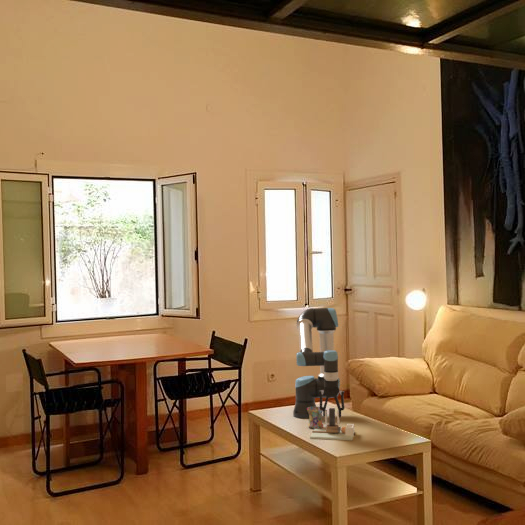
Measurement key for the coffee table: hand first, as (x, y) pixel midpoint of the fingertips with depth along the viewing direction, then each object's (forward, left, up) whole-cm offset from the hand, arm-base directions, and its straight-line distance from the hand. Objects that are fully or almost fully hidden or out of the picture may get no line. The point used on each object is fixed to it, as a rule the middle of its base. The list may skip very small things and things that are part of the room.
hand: (332, 422), depth 330 cm
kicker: (0, +1, -4) cm, 5 cm away
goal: (0, +9, -6) cm, 11 cm away
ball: (0, +6, -4) cm, 7 cm away
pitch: (+1, 0, -6) cm, 6 cm away
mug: (-15, -12, -7) cm, 20 cm away
